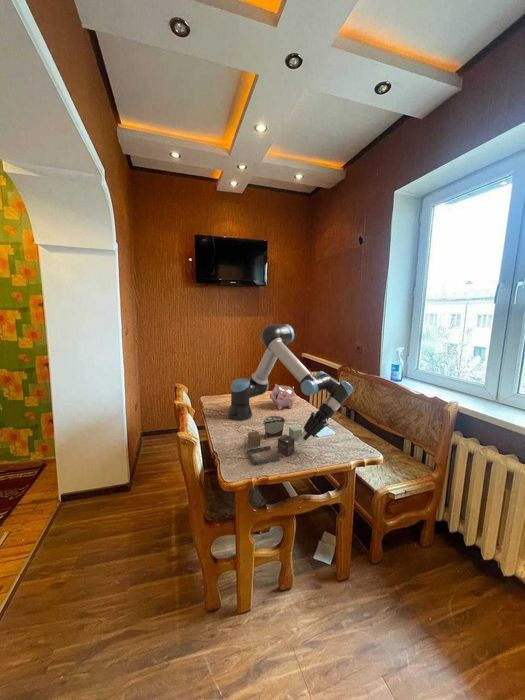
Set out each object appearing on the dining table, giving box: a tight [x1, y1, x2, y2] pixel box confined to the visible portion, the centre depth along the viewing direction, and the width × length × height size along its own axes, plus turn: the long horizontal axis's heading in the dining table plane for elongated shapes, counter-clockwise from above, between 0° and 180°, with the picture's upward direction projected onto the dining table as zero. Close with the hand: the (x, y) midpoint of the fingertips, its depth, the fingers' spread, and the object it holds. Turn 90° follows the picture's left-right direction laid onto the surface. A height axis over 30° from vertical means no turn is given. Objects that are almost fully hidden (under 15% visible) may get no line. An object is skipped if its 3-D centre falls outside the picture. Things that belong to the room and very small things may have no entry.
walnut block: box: [247, 430, 262, 449], centre depth 140 cm, size 5×5×6 cm
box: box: [276, 434, 295, 457], centre depth 133 cm, size 6×6×7 cm
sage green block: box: [288, 425, 303, 442], centre depth 147 cm, size 5×5×6 cm
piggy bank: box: [269, 383, 296, 410], centre depth 194 cm, size 15×18×16 cm
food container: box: [262, 415, 286, 439], centre depth 151 cm, size 12×6×10 cm, turn 111°
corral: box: [245, 445, 280, 466], centre depth 129 cm, size 11×12×2 cm
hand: (298, 443), depth 135 cm, fingers closed
